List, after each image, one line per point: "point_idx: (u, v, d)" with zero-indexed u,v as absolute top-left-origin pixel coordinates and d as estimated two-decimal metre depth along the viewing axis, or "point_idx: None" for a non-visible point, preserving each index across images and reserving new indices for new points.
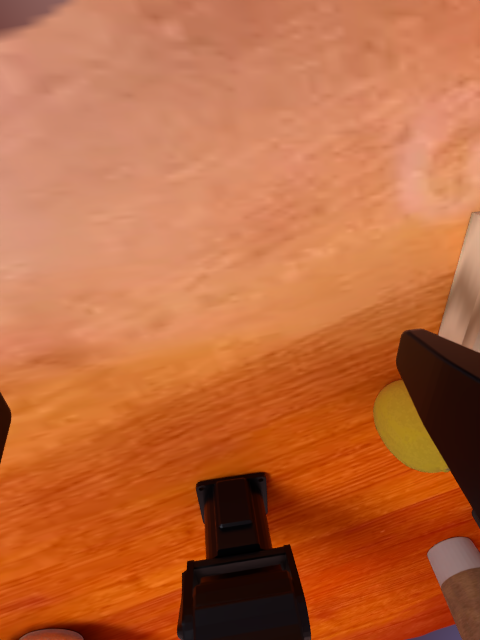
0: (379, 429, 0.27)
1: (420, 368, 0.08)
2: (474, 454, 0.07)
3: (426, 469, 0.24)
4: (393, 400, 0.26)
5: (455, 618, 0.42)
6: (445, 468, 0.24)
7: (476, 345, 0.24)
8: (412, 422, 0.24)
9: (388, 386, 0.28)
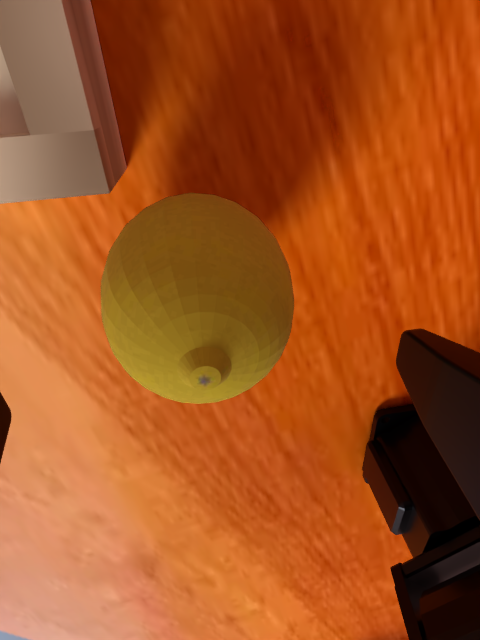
0: None
1: (420, 368, 0.08)
2: (474, 454, 0.07)
3: (232, 389, 0.09)
4: None
5: None
6: (200, 387, 0.08)
7: None
8: None
9: None
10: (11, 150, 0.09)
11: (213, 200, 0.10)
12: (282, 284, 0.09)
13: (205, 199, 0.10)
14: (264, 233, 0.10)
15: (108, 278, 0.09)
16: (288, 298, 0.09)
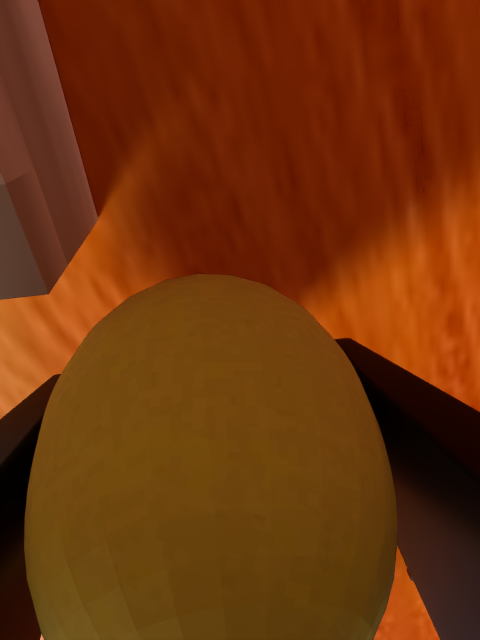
0: None
1: None
2: None
3: None
4: None
5: None
6: None
7: None
8: None
9: None
10: None
11: (243, 307, 0.05)
12: (388, 495, 0.04)
13: (228, 306, 0.05)
14: (342, 374, 0.05)
15: (32, 487, 0.04)
16: (396, 515, 0.05)
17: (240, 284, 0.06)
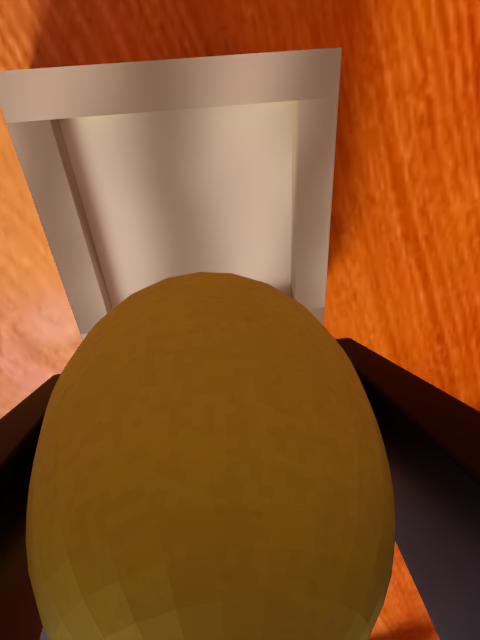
0: None
1: None
2: None
3: None
4: None
5: None
6: None
7: None
8: None
9: None
10: None
11: (243, 306, 0.05)
12: (386, 493, 0.04)
13: (228, 304, 0.05)
14: (341, 372, 0.05)
15: (34, 483, 0.04)
16: (394, 512, 0.05)
17: (240, 282, 0.06)
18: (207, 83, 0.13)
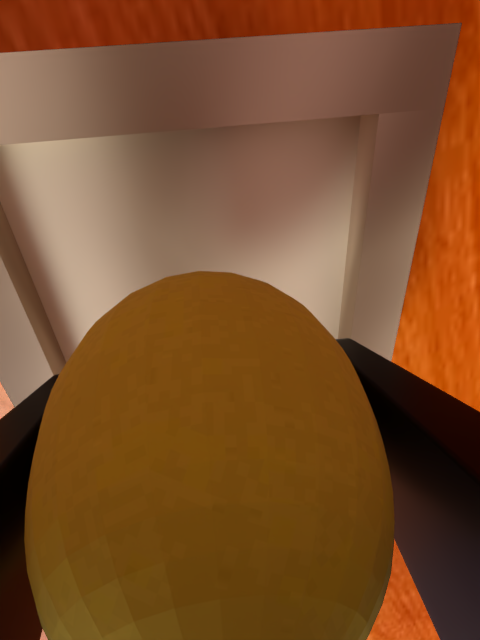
0: None
1: None
2: None
3: None
4: None
5: None
6: None
7: None
8: None
9: None
10: None
11: (242, 304, 0.05)
12: (384, 492, 0.04)
13: (227, 303, 0.05)
14: (340, 371, 0.05)
15: (32, 481, 0.04)
16: (393, 511, 0.05)
17: (240, 281, 0.06)
18: (228, 85, 0.07)
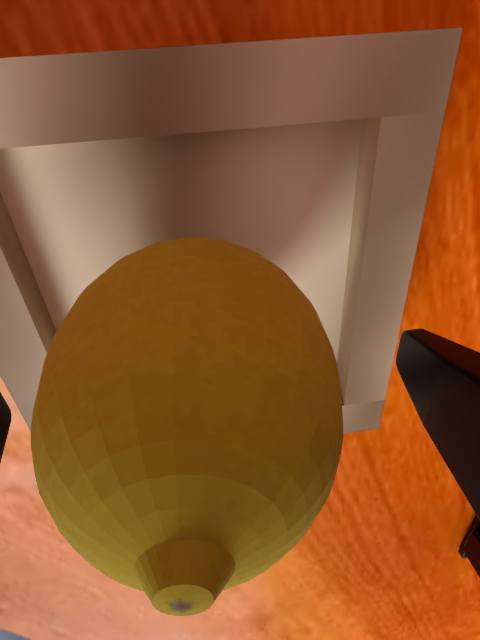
0: None
1: (420, 368, 0.08)
2: (474, 454, 0.07)
3: (238, 584, 0.05)
4: None
5: None
6: (174, 614, 0.04)
7: None
8: None
9: None
10: None
11: (219, 252, 0.06)
12: (328, 398, 0.05)
13: (207, 250, 0.06)
14: (298, 306, 0.06)
15: (40, 379, 0.05)
16: (337, 420, 0.05)
17: (222, 241, 0.07)
18: (231, 89, 0.08)
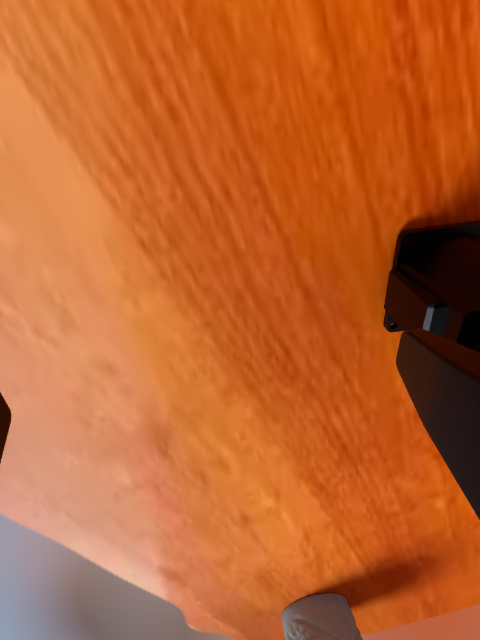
0: None
1: (420, 368, 0.08)
2: (474, 454, 0.07)
3: None
4: None
5: None
6: None
7: None
8: None
9: None
10: None
11: None
12: None
13: None
14: None
15: None
16: None
17: None
18: None
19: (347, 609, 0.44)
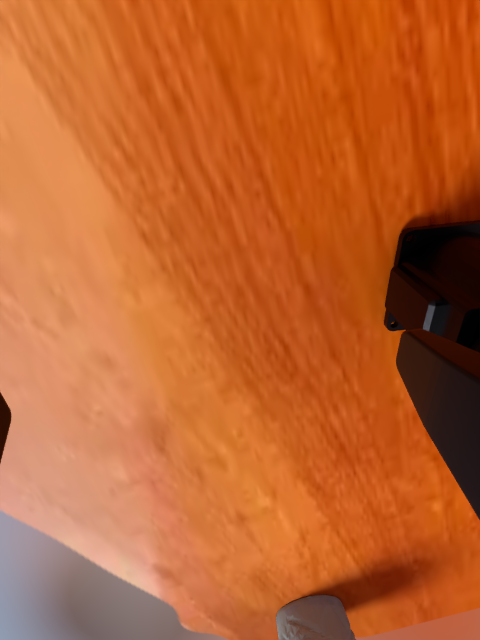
0: None
1: (420, 368, 0.08)
2: (474, 454, 0.07)
3: None
4: None
5: None
6: None
7: None
8: None
9: None
10: None
11: None
12: None
13: None
14: None
15: None
16: None
17: None
18: None
19: (342, 611, 0.44)
